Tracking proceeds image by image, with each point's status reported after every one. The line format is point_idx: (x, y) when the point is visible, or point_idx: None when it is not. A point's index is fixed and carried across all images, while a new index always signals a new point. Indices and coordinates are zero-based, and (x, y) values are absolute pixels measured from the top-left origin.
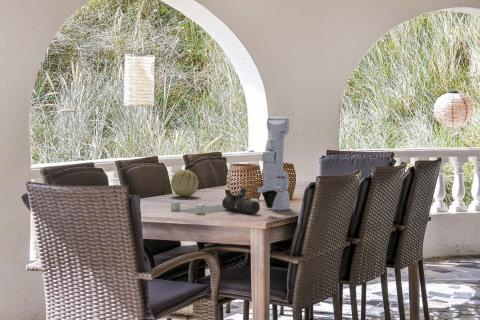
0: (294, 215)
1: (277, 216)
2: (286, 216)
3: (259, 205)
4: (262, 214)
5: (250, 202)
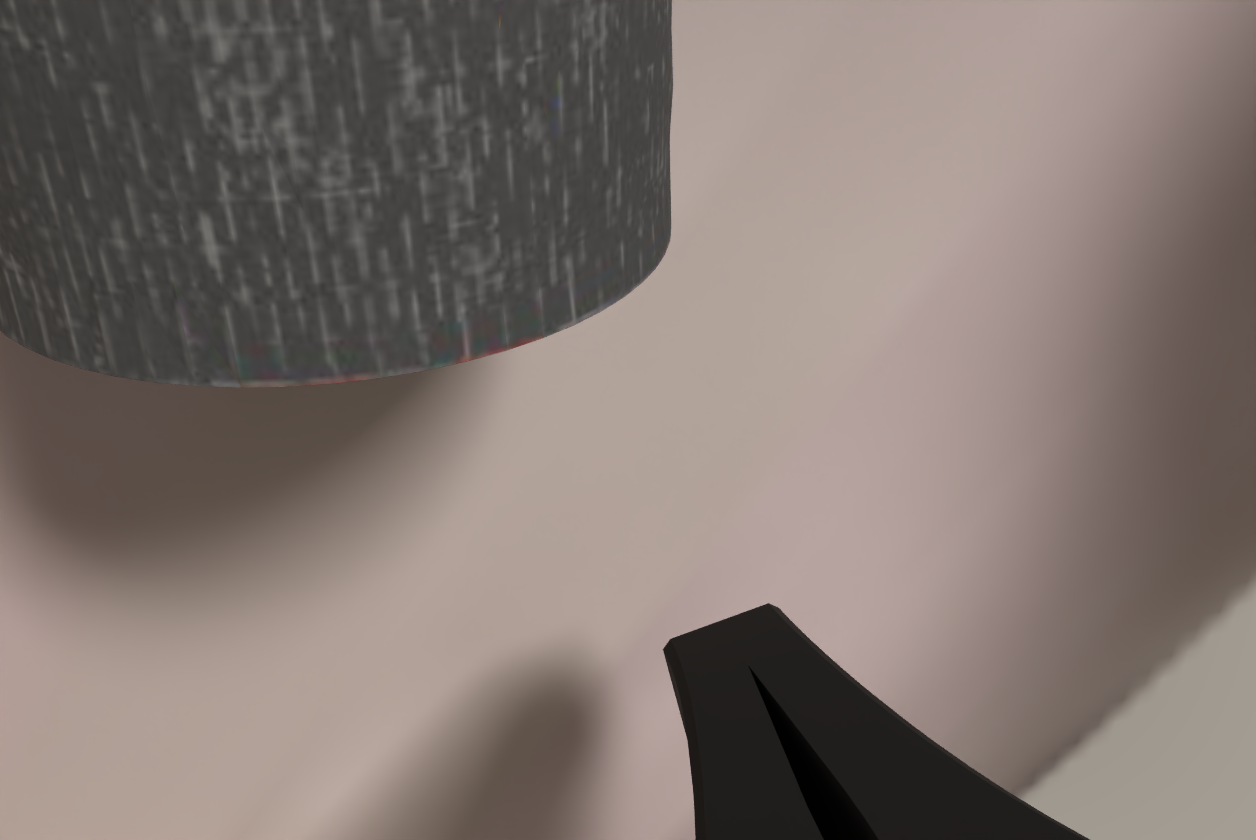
0: (1156, 669)
1: None
2: None
3: (665, 232)
4: None
5: (72, 187)
